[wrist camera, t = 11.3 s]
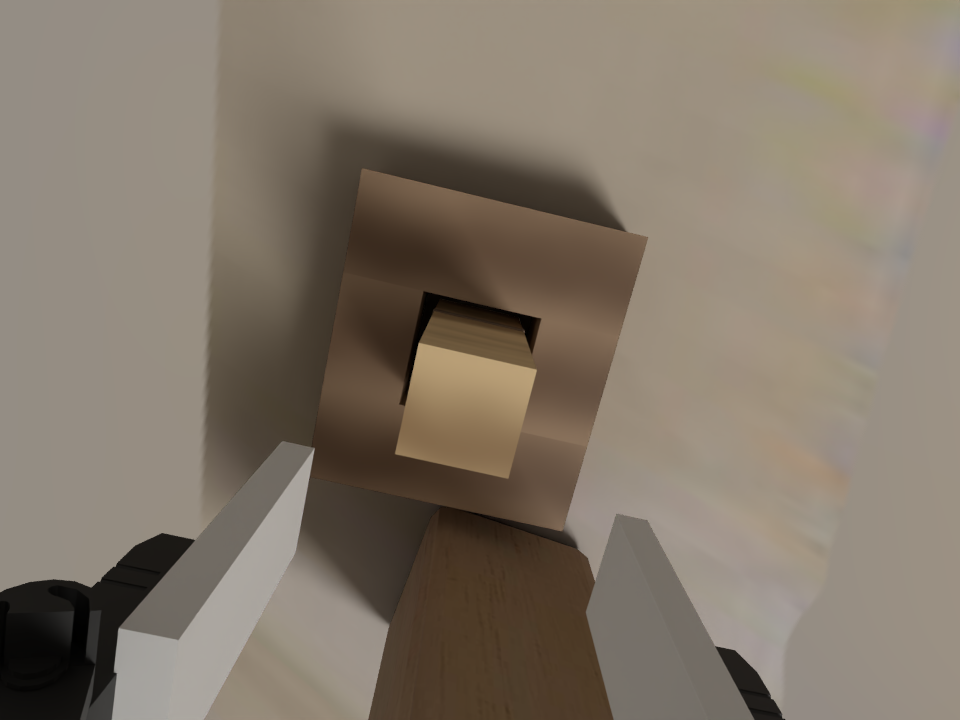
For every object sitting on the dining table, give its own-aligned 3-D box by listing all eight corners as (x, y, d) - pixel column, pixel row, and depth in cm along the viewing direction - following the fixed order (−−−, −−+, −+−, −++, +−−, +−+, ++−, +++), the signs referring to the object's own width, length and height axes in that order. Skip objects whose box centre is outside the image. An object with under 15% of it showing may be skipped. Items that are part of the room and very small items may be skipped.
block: (386, 630, 39) (293, 1037, 20) (437, 495, 37) (389, 804, 18) (532, 676, 40) (580, 1112, 21) (591, 546, 38) (706, 897, 19)
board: (376, 173, 33) (362, 168, 29) (628, 234, 34) (648, 237, 30) (324, 447, 36) (306, 476, 33) (553, 498, 37) (562, 531, 33)
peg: (439, 297, 34) (417, 341, 23) (519, 316, 35) (538, 368, 23) (422, 375, 35) (393, 454, 24) (500, 392, 36) (509, 480, 24)
